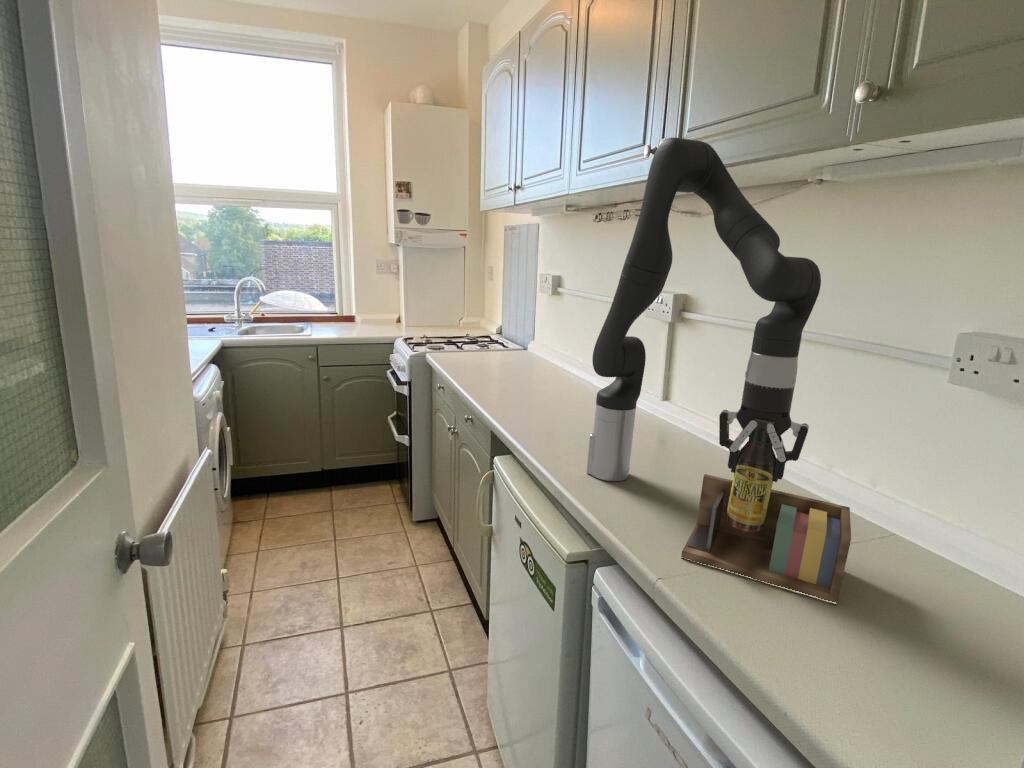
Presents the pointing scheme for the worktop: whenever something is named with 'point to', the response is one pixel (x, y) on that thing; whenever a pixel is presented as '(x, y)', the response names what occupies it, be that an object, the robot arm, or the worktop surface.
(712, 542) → the bookend
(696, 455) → the worktop surface
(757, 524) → the sauce bottle
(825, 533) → the book row
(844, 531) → the shelf
